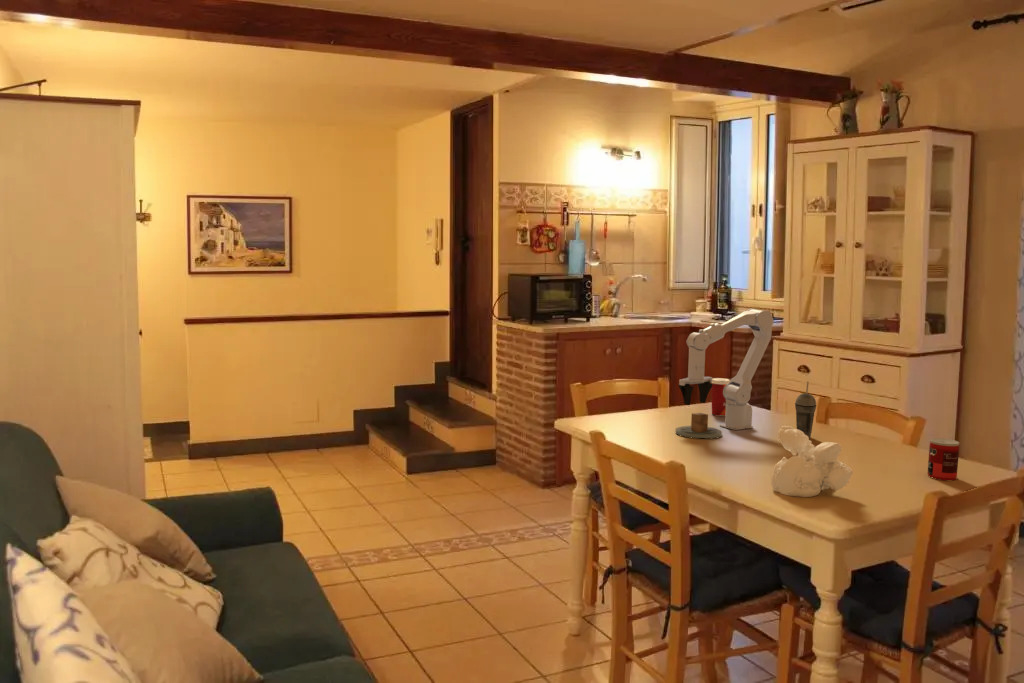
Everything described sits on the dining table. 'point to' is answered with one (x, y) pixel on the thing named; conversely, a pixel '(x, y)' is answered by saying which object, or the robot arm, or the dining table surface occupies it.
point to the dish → (689, 433)
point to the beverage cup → (805, 412)
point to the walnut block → (699, 422)
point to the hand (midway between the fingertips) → (694, 403)
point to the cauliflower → (808, 466)
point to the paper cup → (718, 396)
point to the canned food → (943, 458)
